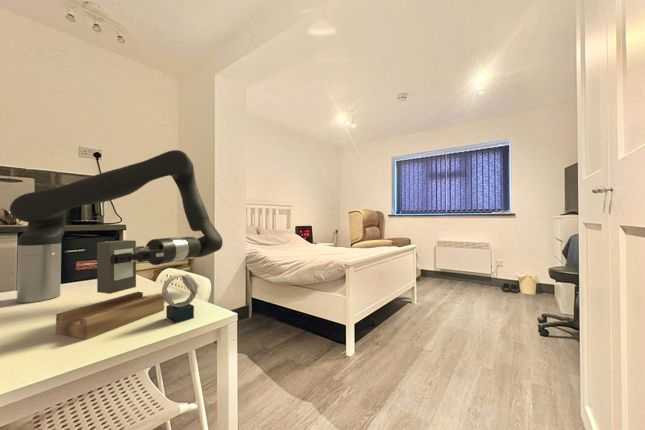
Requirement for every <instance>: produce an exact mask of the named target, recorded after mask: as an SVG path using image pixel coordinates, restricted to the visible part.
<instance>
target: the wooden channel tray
mask: <svg viewBox="0 0 645 430" xmlns="http://www.w3.org/2000/svg"><path fill="white" fill-rule="evenodd" d="M143 293H144V292H143V291H142V292H141V291H136V292H132V293H128V294H124V295H121V296H117V297H113V298H110V299H106V300H102V301H99V302H95V303H91V304H88V305H84V306H80V307H77V308H73V309H70V310H67V311H62V312H59V313H56V315H55V333H56V335H57V334H58V335H63V336H66V337H67V336H68V337H73V338H77V339H82V340H89V339H92V338H95V337H98V336H99V335H103V334H106V333H107V332H110V331H112V330H115V329H118V328H120V327H123V326H126V325H129V324H131V323H134V322H136V321H138V320H139V321H140V320H142V319H144V318H146V317H149V316H152V315H155V314H157V313H159V312H162V311H164V310H165V299H164V297H163V295H162V293H157V294H155V295H150V296H143V295H144V294H143Z"/></svg>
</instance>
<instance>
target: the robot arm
mask: <svg viewBox="0 0 645 430" xmlns="http://www.w3.org/2000/svg"><path fill="white" fill-rule="evenodd" d="M194 170H195V169H194V164H193V162H192V160H191V158H190V156H189V155H188V154H187V153H185V152H184V151H183V150H178V149H176V150H169V151H165V152H163V153H161V154H159V155H155V156H154V157H151V158H149V159H146V160H143V161H139V162H136V163H132V164H129V165H125V166H122V167H119V168H115V169H111V170H109V171H105V172H101V173H98V174H95V175H92V176H88V177H86V178H82V179H78V180H75V181H74V182H70V183H68V184H67V183H66V184H64V185H61V186H57V187H52V188H48V189H42V190H38V191H33V192H28V193H24V194H21V195H20V196H18V197H16V198H15V199H13V201H12V202H11V203H10V206H9V213H10V214H11V216H12V217H13V218H15V219H17V220H18V221H21V222H25V223H27V226H26V227H27V228H26V230H25V231H24V232H23V233H22V234H20V235H19V236H18V237H17V273H16V274H17V275H16V276H17V277H16V278H17V279H16V280H17V282H16V302H17V303H22V304H23V303H36V302H41V301H47V300H51V299H55V298H57V297H60V296H61V283H62V281H61V277H62V275H61V274H62V238H63V236H64V235H65V231H66V219H67V218H66V217H67V210H70V209H74V208H77V207H82V206H87V205H88V206H89V205H94V204H101V203H106V202H110V201H114V200H116V199H120V198H124V197H126V196H130V195H131V194H133V193H135V192H137V191H138V190H140V189H142V187H144V186H145V185H147V184H149V183H150V182H153V181H155V180H158V179H160V178H161V179H162V178H166V177H168V176H170V177H172V180H173V181H174V182H175V184H176V186H177V188H178V191H179V194H180V196H181V200H182V201H181V202H182V207H183V211H184V213H185V218H186V220H187V224H189V225H188V226H189V228H190V230H191V231H192V232H201V233H202V235H203V236H200V237H198V238H197V237H194V236H183V237H182V236H181V237H174V236H173V237H163V238H153V239H150V240H149V241H148V242H147V243H146V245H145V246H144V245H139V246H136V251H135V252H134V251H133V252H130V253H123V254H115V255H112V257H111V263H112V264H119V263H125V262H136V263H143V262H148V263H149V264H150V265H153V266H159V265H164V264H168V263H169V264H170V263H174V262H175V263H176V262H177V261H178V262H179V261H181V260H185V259H190V258H202V257H205V256H206V257H207V256H208V255H210V254H213V253H215V252H218V251H220V250H221V249H222V247H223V238H222V236H221V233H220V232H218V230H217V229H216V227H215V226H214V224H213V223H212V222H211V220H210V218H209V214H208V212H207V209H206V207H205V204H204V202H203V199H202V197H201V194H200V192H199V189H198V184H197V182H196V177H195V171H194Z"/></svg>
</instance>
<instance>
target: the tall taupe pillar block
mask: <svg viewBox="0 0 645 430" xmlns="http://www.w3.org/2000/svg"><path fill="white" fill-rule="evenodd" d="M136 247H137V240H133V239H132V240H131V239H130V240H128V239H127V240H126V239H125V240H124V239H123V240H111V241H101V242H99V241H98V242H96V253H97V254H96V265H97V266H96V268H97V270H96V273H97V275H96V278H97V279H96V282H97V289H96V291H97V293H101V294H107V295H108V294H109V295H110V294H115V293H119V292H121V291H126V290H129V289H133V288H136V287H137V262H125V263H119V264H112V263H111V257H112V255H115V254H123V253H130V252H133V251H134V252H135V251H136Z"/></svg>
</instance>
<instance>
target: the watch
mask: <svg viewBox="0 0 645 430" xmlns="http://www.w3.org/2000/svg"><path fill="white" fill-rule="evenodd" d="M178 278H181V280H182V283H183V285H185V286H184V287H186V288H187V289H188V290H189V292H190V294H189V296H188V298H187V299H186V300H184V301H181V302H177V303H175V302H174V301H173V300H172V299H171V297H170V294H169V291H168V288H169V286H170V284H171V283H172V282H174V280H177V279H178ZM198 289H199V286H198V283H197V281H196V280H195V279H194V278H193V277H192V276H191V275H189V274H188V273H185V274H183V273H177V274H174V275H171V276H170V277H168V278H166V280H165V282H164V283H163V286H162V288H161V290H162V291H161V294H162V295H163V297H164V302H166V303H167V304H168V305H166V310H165V311H166V315H165V316H166V317H165V318H166V319H167V320H169V321H171V322H172V323H174V324H176V325H177V324H179V323H182V322H186V321H189V320H192V319H195V314H194V313H195V310H194V309H195V305H193V304H191V303H192V302H193V301H194V299H195V298H196V296H197V294H198Z"/></svg>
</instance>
